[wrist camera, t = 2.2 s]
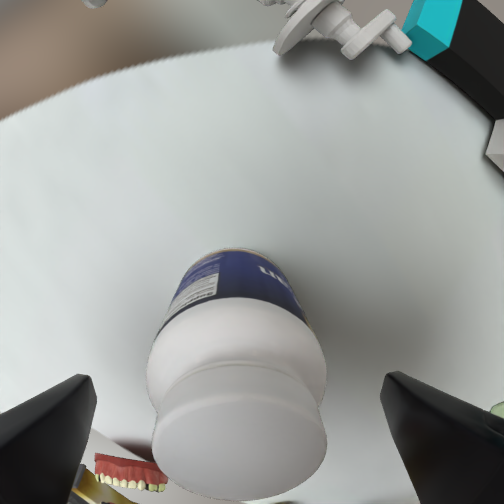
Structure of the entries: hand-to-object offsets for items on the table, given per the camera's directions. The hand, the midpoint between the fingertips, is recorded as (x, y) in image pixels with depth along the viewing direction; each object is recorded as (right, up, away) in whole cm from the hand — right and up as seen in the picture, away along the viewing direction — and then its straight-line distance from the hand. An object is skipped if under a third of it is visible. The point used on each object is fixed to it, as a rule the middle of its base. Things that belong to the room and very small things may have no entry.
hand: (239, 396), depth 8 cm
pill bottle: (0, +2, +7) cm, 7 cm away
